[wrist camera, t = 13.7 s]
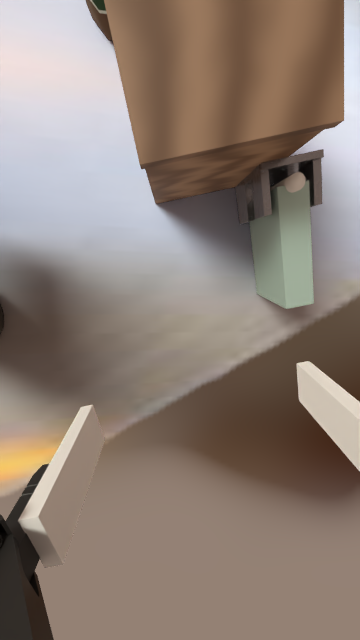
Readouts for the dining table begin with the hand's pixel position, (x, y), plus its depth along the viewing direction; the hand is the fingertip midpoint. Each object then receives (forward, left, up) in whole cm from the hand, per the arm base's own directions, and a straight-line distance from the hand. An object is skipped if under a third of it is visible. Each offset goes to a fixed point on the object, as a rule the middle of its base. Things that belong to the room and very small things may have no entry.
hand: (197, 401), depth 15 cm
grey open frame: (+17, +14, -32) cm, 39 cm away
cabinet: (+8, +23, -32) cm, 40 cm away
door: (+17, +6, -32) cm, 36 cm away
